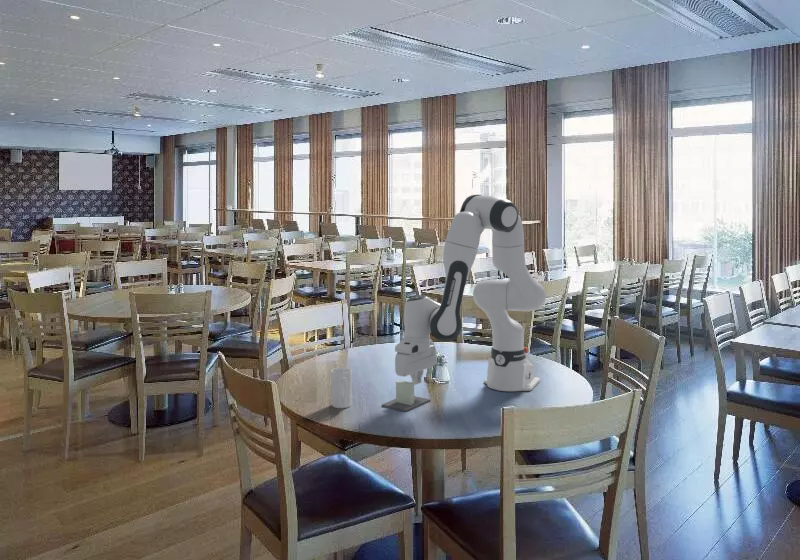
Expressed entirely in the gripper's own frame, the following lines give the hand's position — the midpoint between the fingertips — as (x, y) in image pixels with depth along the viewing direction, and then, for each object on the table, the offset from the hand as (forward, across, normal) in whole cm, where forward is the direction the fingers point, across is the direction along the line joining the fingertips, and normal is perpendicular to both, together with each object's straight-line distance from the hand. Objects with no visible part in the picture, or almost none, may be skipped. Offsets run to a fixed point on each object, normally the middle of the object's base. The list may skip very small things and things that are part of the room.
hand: (416, 383), depth 235 cm
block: (+5, +7, 0) cm, 8 cm away
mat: (+6, +6, 0) cm, 8 cm away
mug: (+6, +20, -16) cm, 26 cm away
